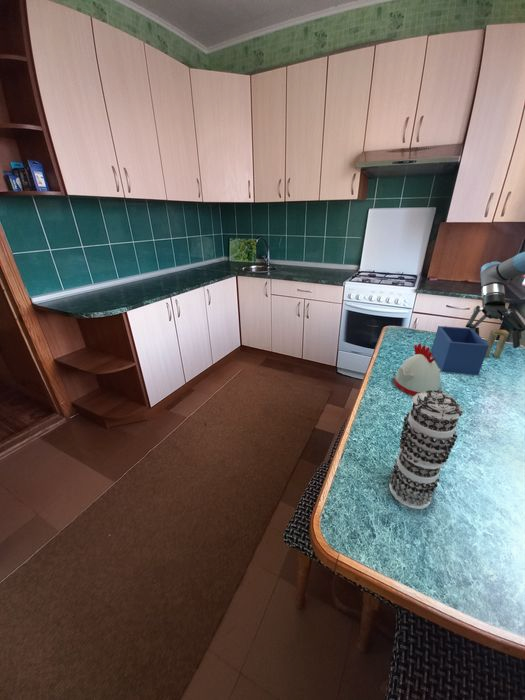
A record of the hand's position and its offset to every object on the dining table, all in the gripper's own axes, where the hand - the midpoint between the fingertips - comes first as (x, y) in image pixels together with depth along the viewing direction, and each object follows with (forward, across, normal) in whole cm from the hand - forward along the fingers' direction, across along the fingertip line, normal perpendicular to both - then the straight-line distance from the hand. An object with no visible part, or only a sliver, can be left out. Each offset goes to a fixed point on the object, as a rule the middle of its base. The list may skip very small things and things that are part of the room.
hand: (496, 345), depth 114 cm
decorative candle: (+56, +43, +48) cm, 85 cm away
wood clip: (+3, 0, -5) cm, 5 cm away
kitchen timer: (+24, +33, +16) cm, 44 cm away
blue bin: (+10, +16, +2) cm, 19 cm away
